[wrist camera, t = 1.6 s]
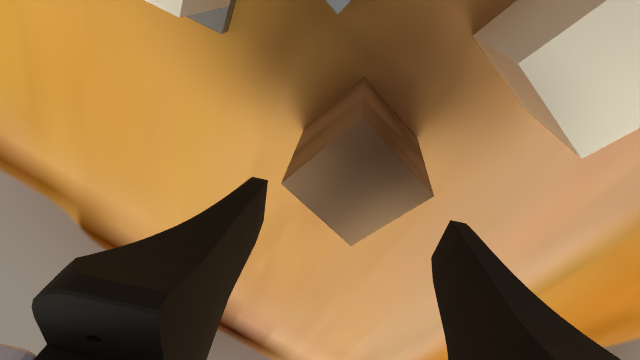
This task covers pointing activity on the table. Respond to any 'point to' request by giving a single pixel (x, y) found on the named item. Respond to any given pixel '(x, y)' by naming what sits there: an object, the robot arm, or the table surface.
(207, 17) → the cream-edged tan board
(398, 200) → the walnut block
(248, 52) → the table surface
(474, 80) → the table surface
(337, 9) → the base block
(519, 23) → the off-white block
